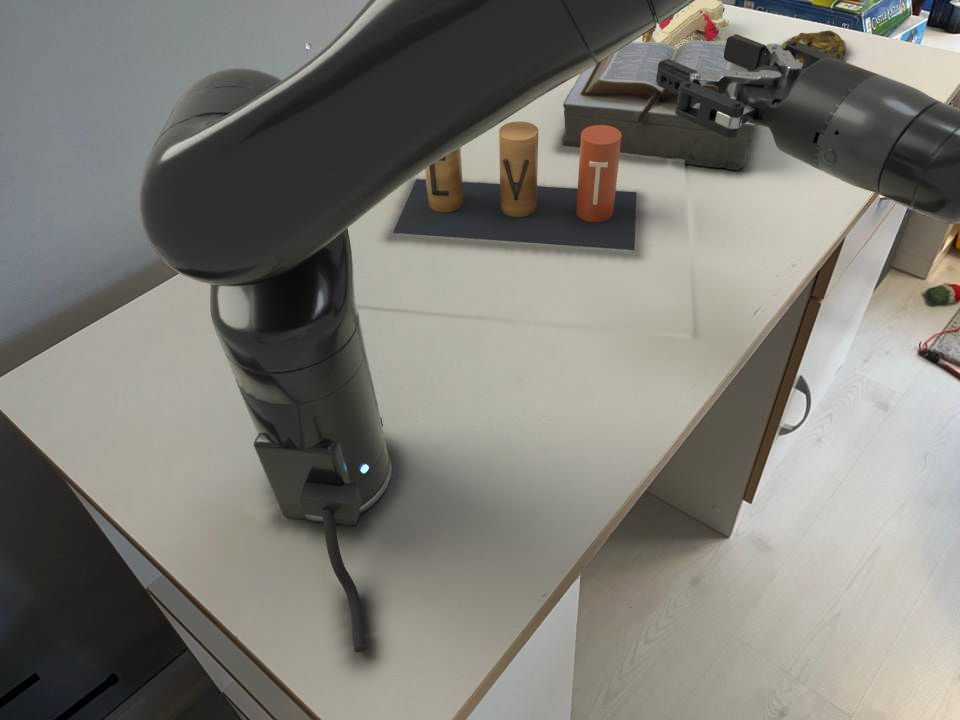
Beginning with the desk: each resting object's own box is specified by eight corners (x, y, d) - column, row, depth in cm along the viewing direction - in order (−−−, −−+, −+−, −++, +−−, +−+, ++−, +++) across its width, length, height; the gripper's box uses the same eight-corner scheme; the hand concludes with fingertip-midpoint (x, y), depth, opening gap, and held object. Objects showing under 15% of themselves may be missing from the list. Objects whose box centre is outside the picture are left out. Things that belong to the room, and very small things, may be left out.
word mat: (633, 254, 80) (634, 249, 80) (393, 236, 84) (392, 232, 84) (636, 196, 89) (636, 191, 88) (416, 182, 93) (416, 178, 92)
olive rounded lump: (798, 39, 122) (764, 69, 114) (803, 10, 119) (768, 39, 111) (856, 44, 118) (825, 76, 109) (863, 14, 114) (831, 44, 106)
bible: (732, 191, 89) (750, 115, 82) (537, 143, 99) (538, 73, 92) (778, 111, 102) (798, 41, 95) (603, 77, 113) (609, 11, 106)
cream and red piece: (668, 89, 111) (740, 24, 123) (675, 33, 105) (749, -30, 117) (613, 74, 116) (687, 12, 128) (616, 19, 109) (694, -40, 121)
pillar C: (460, 214, 86) (454, 137, 79) (424, 212, 87) (416, 135, 80) (467, 193, 89) (462, 118, 82) (432, 191, 90) (425, 116, 83)
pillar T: (612, 224, 84) (620, 146, 76) (574, 221, 84) (579, 143, 77) (613, 203, 87) (622, 125, 80) (577, 200, 87) (582, 123, 80)
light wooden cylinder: (534, 219, 85) (535, 141, 78) (497, 216, 85) (495, 139, 78) (538, 198, 88) (540, 122, 81) (503, 196, 89) (502, 120, 82)
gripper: (930, 52, 54) (758, -6, 64) (811, 106, 48) (641, 34, 58) (893, 143, 59) (738, 78, 69) (781, 201, 54) (630, 121, 63)
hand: (694, 58), depth 63 cm, fingers open, 8 cm apart
